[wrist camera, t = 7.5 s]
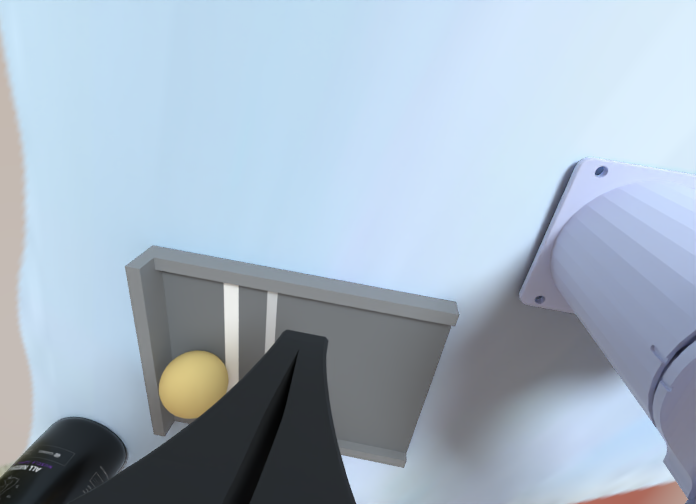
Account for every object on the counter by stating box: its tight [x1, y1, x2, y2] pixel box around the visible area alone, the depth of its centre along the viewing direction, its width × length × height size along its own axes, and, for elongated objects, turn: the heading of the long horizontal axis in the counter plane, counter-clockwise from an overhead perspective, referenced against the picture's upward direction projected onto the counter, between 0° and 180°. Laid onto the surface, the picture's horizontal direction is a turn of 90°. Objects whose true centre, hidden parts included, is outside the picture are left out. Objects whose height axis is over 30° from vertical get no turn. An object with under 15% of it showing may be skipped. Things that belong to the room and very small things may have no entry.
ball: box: [159, 350, 229, 419], centre depth 23 cm, size 4×4×4 cm
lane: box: [125, 246, 459, 468], centre depth 23 cm, size 18×14×2 cm
